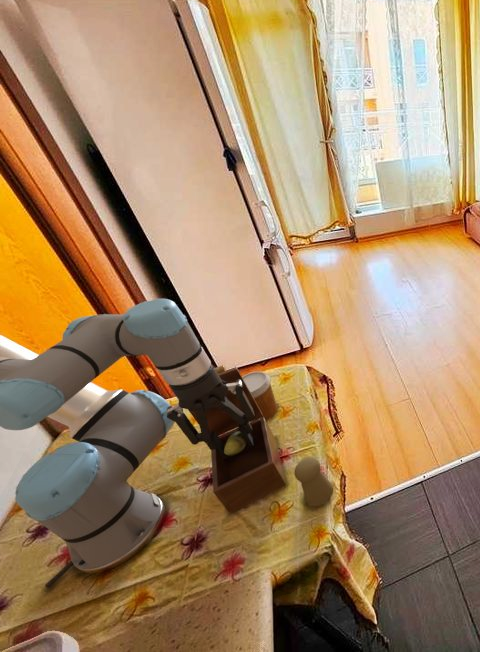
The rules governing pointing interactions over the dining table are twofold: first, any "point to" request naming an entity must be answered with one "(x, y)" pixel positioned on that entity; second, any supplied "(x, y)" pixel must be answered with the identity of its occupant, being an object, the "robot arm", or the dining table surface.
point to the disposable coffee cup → (261, 392)
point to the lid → (220, 418)
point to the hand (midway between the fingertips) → (238, 448)
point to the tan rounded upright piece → (313, 481)
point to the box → (248, 469)
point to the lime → (235, 443)
